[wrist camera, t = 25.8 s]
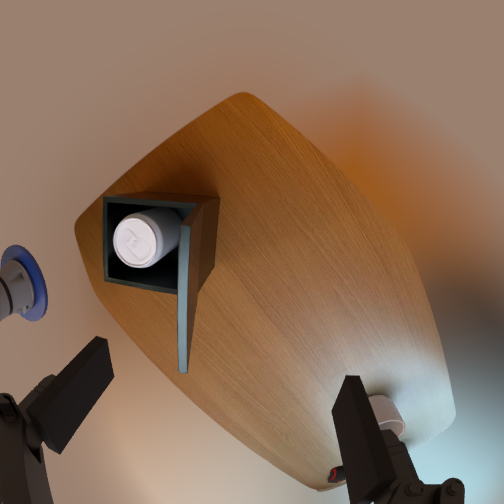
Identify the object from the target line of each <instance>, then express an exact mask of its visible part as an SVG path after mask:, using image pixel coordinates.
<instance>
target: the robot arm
mask: <svg viewBox="0 0 504 504" xmlns="http://www.w3.org/2000/svg"><path fill="white" fill-rule="evenodd" d="M35 303H36V290H35V285H34V282H33V279H32V277H31V275H30V273H29V271H28V269H27V268H26V266H25V265H24V264H23V263H22V262H21V261H19V260H16V259H13V260H11V261H8V262H7V263H6V264H5V265H4V266H3V267H2V268H1V269H0V321H2V320H3V319H4V318H6V317H7V316H9V315H11V314H13V313H20V312H23V314H25V313H26V312H27V311H29V310H30V309H32V308H33V307H34V305H35ZM113 378H114V373H113V368H112V363H111V359H110V353H109V347H108V342H107V339H104V338H101V337H98V336H96V337H95V338H94V339H93V340H92V341H90V342H89V343H88V344H87V345H86V347H84V348H83V349H82V351H80V352H79V354H78V355H77V356H76V357H75V358H74V359H73V360H72V361H71V362H70V363H69V364H68V365H67V366H66V367H65V368H64V369H63V370H62V371H61V372H60V373H59V374H58V375H57V376H55V375H53V374H51V375H49V376H47V377H45V378H44V379H43V380H42V381H41V382H40V383H39V384H38V386H36V387H35V388H34V390H32V391H31V392H30V393H29V394H28V395H27V396H26V397H25V398H24V399H23V400H22V402H20V404H19V405H18V406H17V404H16V402H15V400H14V398H13V397H12V396H11V395H10V394H8V393H0V504H2V502H3V504H54V503H53V499H52V496H51V491H50V487H49V483H48V478H47V473H46V467H45V462H44V455H43V449H42V446H41V443H42V442H43V441H44V442H45V444H46V445H47V447H48V448H49V449H51V450H53V451H54V452H56V453H58V454H61V453H62V451H63V450H64V448H65V446H66V445H67V443H68V442H69V441H70V439H71V438H72V436H73V435H74V433H75V432H76V430H77V429H78V427H79V426H80V425H81V423H82V422H83V420H84V419H85V417H86V416H87V414H88V413H89V411H90V410H91V409H92V407H93V406H94V405H95V403H96V401H97V400H98V399H99V398H100V396H101V395H102V393H103V392H104V391H105V389H106V388H107V386H108V385H109V384H110V382H111V381H112V379H113ZM332 416H333V420H334V425H335V429H336V434H337V438H338V443H339V448H340V453H341V457H342V462H343V467H344V472H345V478H346V483H347V488H348V493H349V499H350V504H371V503H372V502H374V504H464V494H465V488H464V484H463V483H462V481H460V480H459V479H457V478H449V479H447V480H446V481H445V482H443V483H442V484H435V485H434V484H428V485H427V484H424V483H423V482H422V481H421V480H419V479H417V478H414V476H413V474H412V472H411V469H410V467H409V464H408V461H407V459H406V456H405V454H404V453H403V449H402V446H400V445H401V444H400V441H399V439H398V436H397V435H396V434H395V433H394V432H393V431H392V430H391V429H385V430H380V427H379V424H378V422H377V419H376V416H375V414H374V411H373V409H372V406H371V403H370V401H369V398H368V396H367V393H366V391H365V388H364V386H363V383H362V381H361V379H360V376H352V375H346V376H345V379H344V382H343V384H342V387H341V389H340V392H339V394H338V397H337V399H336V401H335V404H334V406H333V408H332Z"/></svg>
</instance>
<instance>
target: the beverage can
mask: <svg viewBox="0 0 504 504" xmlns="http://www.w3.org/2000/svg"><path fill="white" fill-rule="evenodd" d="M181 223H182V220H181V218H180V217H179V215H178V214H177V213H176V212H175V211H174V210H172V209H170V208H167V207H156V208H152V209H148V210H145V211H141V212H137V213H133V214H130V215H128V216H126V217H125V218H124V219H122V221H121V222H120V223H119V225H118V226H117V228H116V230H115V233H114V238H113V243H114V248H115V251H116V253H117V255H118V257H119V258H120V259H121V260H122V261H123V262H124V263H125V264H127V265H129V266H131V267H137V268H145V267H149V266H151V265H153V264H154V263H156V262H157V261H158V260H160V259H161V258H162V257H164V256H165V255H166V254H168V253H169V252H170V251H172V250H173V249H174V248H176V247H177V246H178V245H179V232H180V225H181Z"/></svg>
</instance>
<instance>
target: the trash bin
mask: <svg viewBox="0 0 504 504" xmlns="http://www.w3.org/2000/svg"><path fill="white" fill-rule="evenodd" d="M197 204H203V205H204V207H203V218H202V231H201V245H200V260H199V278H198V292H199V291H200V289H201V287H202V286H203V284H204V283H205V281H206V279H207V278H208V276H209V275H210V273H211V271H212V270H213V268H214V262H215V249H216V237H217V226H218V215H219V204H220V198H218V197H207V196H196V195H184V194H171V193H157V192H136V193H127V194H119V195H111V196H104V197H103V267H104V281H106V282H111V283H116V284H121V285H126V286H131V287H136V288H142V289H147V290H153V291H158V292H164V293H170V294H176V295H177V283H178V252H179V245H178V246H177V247H176V248H174V249H173V250H172V251H170V252H169V253H168V254H166V255H165V256H164V257H162V258H161V259H160V260H158V261H157V262H156V263H154V264H153V265H151V266H149V267H145V268H137V267H131V266H129V265H127V264H125V263H124V262H123V261H122V260H121V259H120V258H119V257H118V255H117V253H116V251H115V248H114V243H113V238H114V233H115V230H116V228H117V226H118V225H119V223H120V222H121V221H122V219H124V218H125V217H126V216H128V215H130V214H133V213H137V212H141V211H145V210H148V209H152V208H156V207H167V208H170V209H172V210H174V211H175V212H176V213H177V214H178V215H179V217H180V218H181V220H182V222H183V221H184V220H185V218H186V217H187V216H188V215H189V214H190V212H191V211H192V210H193V209H194V207H195V206H196V205H197Z"/></svg>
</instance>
